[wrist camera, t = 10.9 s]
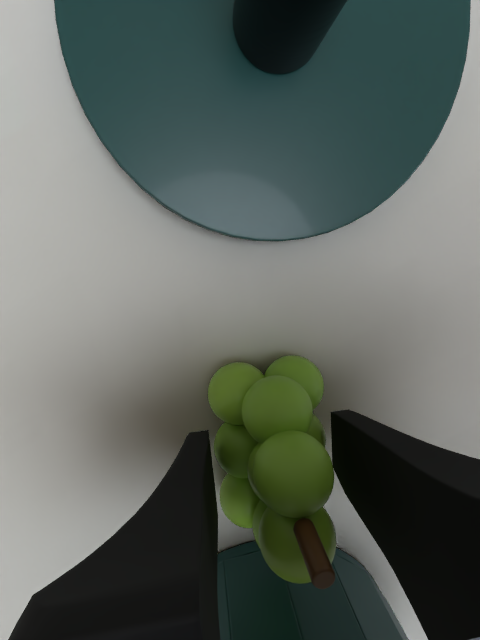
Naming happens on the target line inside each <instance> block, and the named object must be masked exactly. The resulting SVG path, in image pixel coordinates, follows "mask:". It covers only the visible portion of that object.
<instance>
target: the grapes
mask: <svg viewBox="0 0 480 640" xmlns="http://www.w3.org/2000/svg"><path fill="white" fill-rule="evenodd" d="M323 391H324V383H323V378H322V376H321V373H320V371H319V370H318V368H317V367H316V366H315V365H314V364H313V363H312V362H311V361H309V360H308V359H306V358H303V357H300V356H294V355H291V356H284V357H281V358H279V359H277V360H275V361H274V362H273V363H272V364H271V365H270V366H269V367H268V368H267V370H266V372H265V374H264V375H263V374H262V372H261V371H260V370H259V369H257V368H256V367H254V366H252V365H250V364H248V363H243V362H235V363H230V364H227V365H225V366H223V367H222V368H220V369H219V370H218V371H217V372H216V373H215V374H214V376H213V377H212V379H211V381H210V384H209V387H208V400H209V404H210V407H211V409H212V410H213V412H214V413H215V415H216V416H217V417H218V418H220V419H221V420H222V421H224V423H223V424H222V425H221V427H220V428H219V430H218V432H217V434H216V436H215V440H214V452H215V457H216V459H217V461H218V463H219V465H220V466H221V468H222V469H223V470H224V471H225V472H227V473H228V474H227V475H226V476H225V478H224V479H223V482H222V484H221V488H220V503H221V507H222V510H223V512H224V514H225V515H226V516H227V518H228V519H229V520H230V521H231V522H232V523H234V524H236V525H238V526H240V527H243V528H253V534H254V537H255V540H256V542H257V544H258V546H259V548H260V549H261V552H262V555H263V557H264V559H265V561H266V563H267V564H268V566H269V567H270V568H271V570H272V571H273V572H274V573H275V574H277V575H278V576H279V577H281V578H282V579H284V580H286V581H289V582H292V583H297V584H304V583H309V582H312V584H313V585H314V586H315V587H316V588H318V589H326V588H328V587H330V586H331V585H332V584H333V583H334V581H335V572H334V570H333V567H332V565H331V563H332V561H333V559H334V555H335V551H336V533H335V529H334V525H333V523H332V520H331V518H330V516H329V515H328V513H327V512H326V510H325V509H324V508H323V506H324V504H325V503H326V502H327V500H328V498H329V496H330V494H331V492H332V488H333V483H334V470H333V465H332V462H331V459H330V456H329V454H328V453H327V451H326V449H325V445H326V435H325V431H324V428H323V426H322V424H321V422H320V421H319V419H318V418H317V417H316V416H315V415H314V414H313V410H314V409H315V408H316V407H317V406H318V404H319V403H320V401H321V399H322V396H323Z"/></svg>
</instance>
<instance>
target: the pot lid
mask: <svg viewBox="0 0 480 640" xmlns="http://www.w3.org/2000/svg"><path fill="white" fill-rule="evenodd" d="M54 3H55V16H56V24H57V29H58V34H59V39H60V44H61V50H62V54H63V57H64V61H65V64H66V67H67V70H68V73H69V76H70V80H71V83H72V86H73V88H74V90H75V93H76V95H77V97H78V99H79V101H80V104H81V106H82V108H83V110H84V113H85V115H86V117H87V118H88V120H89V122H90V123H91V125H92V127H93V128H94V130H95V132H96V133H97V135H98V137H99V139H100V140H101V142H102V143H103V145H104V146H105V147H106V148H107V150H108V151H109V152H110V154H111V155H112V156H113V158H114V159H115V160H116V162H117V163H118V164H119V166H120V167H121V168H122V169H123V170H124V171H125V172H126V173H127V174H128V175H129V176H130V177H131V178H132V179H133V180H134V181H135V182H136V183H137V184H138V185H139V186H140V187H141V188H142V189H143V190H144V191H145V192H146V193H148V194H149V195H150V196H151V197H153V198H154V199H155V200H156V201H157V202H159V203H160V204H161V205H162V206H164V207H165V208H167V209H169V210H170V211H172V212H174V213H175V214H177V215H178V216H180V217H182V218H183V219H185V220H187V221H189V222H191V223H194V224H196V225H198V226H200V227H202V228H205V229H207V230H210V231H213V232H216V233H219V234H223V235H226V236H229V237H234V238H240V239H246V240H253V241H287V240H296V239H305V238H309V237H313V236H317V235H320V234H324V233H328V232H330V231H333V230H335V229H338V228H340V227H343V226H345V225H348V224H350V223H352V222H354V221H355V220H357V219H359V218H361V217H362V216H364V215H366V214H368V213H369V212H371V211H372V210H374V209H375V208H376V207H378V206H379V205H380V204H382V203H383V202H384V201H386V200H387V199H388V198H390V197H391V196H392V195H393V194H394V193H395V192H396V191H397V190H398V189H399V188H400V187H401V186H402V185H403V184H404V183H405V182H406V181H407V180H408V179H409V178H410V176H411V175H412V174H413V173H414V172H415V170H416V169H417V168H418V167H419V165H420V164H421V163H422V162H423V160H424V159H425V157H426V156H427V154H428V153H429V151H430V149H431V148H432V146H433V145H434V143H435V142H436V140H437V138H438V137H439V135H440V132H441V130H442V128H443V126H444V124H445V122H446V120H447V118H448V116H449V114H450V111H451V109H452V106H453V103H454V100H455V97H456V95H457V92H458V89H459V86H460V82H461V77H462V73H463V69H464V65H465V61H466V54H467V47H468V39H469V32H470V0H54Z"/></svg>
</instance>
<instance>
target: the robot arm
mask: <svg viewBox="0 0 480 640" xmlns="http://www.w3.org/2000/svg"><path fill="white" fill-rule="evenodd" d="M331 435H332V464H333V468H334V470H335V473H336V475H337V477H338V479H339V482H340V484H341V486H342V488H343V490H344V492H345V494H346V495H347V497H348V499H349V500H350V502H351V504H352V505H353V507H354V508H355V510H356V511H357V513H358V515H359V516H360V518H361V519H362V521H363V522H364V524H365V526H366V527H367V529H368V530H369V532H370V533H371V535H372V536H373V538H374V540H375V541H376V543H377V544H378V546H379V547H380V549H381V551H382V552H383V554H384V555H385V557H386V559H387V560H388V562H389V564H390V565H391V567H392V569H393V571H394V572H395V574H396V576H397V578H398V580H399V582H400V584H401V586H402V588H403V590H404V592H405V594H406V596H407V598H408V599H409V601H410V603H411V605H412V607H413V609H414V611H415V613H416V615H417V617H418V619H419V621H420V623H421V626H422V628H423V630H424V632H425V634H426V636H427V638H428V640H480V459H476V458H472V457H469V456H465V455H462V454H459V453H456V452H452V451H449V450H446V449H443V448H440V447H437V446H434V445H432V444H429V443H426V442H424V441H421V440H419V439H416V438H414V437H411V436H409V435H406V434H404V433H402V432H399V431H397V430H395V429H392V428H390V427H388V426H386V425H383V424H381V423H379V422H377V421H375V420H372V419H370V418H368V417H366V416H364V415H361V414H359V413H356V412H354V411H351V410H342V411H335V412H331ZM217 560H218V513H217V502H216V492H215V483H214V474H213V466H212V457H211V449H210V440H209V432H208V430H205V431H198V432H191V433H189V434H188V435H187V436H186V439H185V441H184V443H183V445H182V447H181V449H180V451H179V453H178V455H177V457H176V459H175V460H174V462H173V464H172V465H171V467H170V469H169V470H168V472H167V473H166V475H165V476H164V478H163V479H162V481H161V482H160V484H159V485H158V486H157V488H156V489H155V491H154V492H153V493H152V495H151V496H150V497H149V498H148V500H147V501H146V502H145V503H144V504H143V506H142V507H141V508H140V509H139V510H138V511H137V513H136V514H135V515H134V516H133V517H132V518H131V519H130V520H129V521H127V522H126V523H125V524H124V525H123V526H122V527H121V528H120V529H119V530H118V531H117V532H116V533H115V534H114V535H113V536H112V537H111V538H110V539H109V540H107V541H106V542H105V543H104V544H103V545H101V546H100V547H99V548H98V549H97V550H95V551H94V552H93V553H92V554H90V555H89V556H88V557H87V558H85V559H84V560H83V561H82V562H80V563H79V564H78V565H76V566H75V567H74V568H72V569H71V570H69V571H68V572H66V573H65V574H63V575H62V576H60V577H59V578H58V579H56V580H55V581H53V582H52V583H50V584H49V585H47V586H46V587H44V588H43V589H42V590H40V591H38V592H37V593H35V594H34V595H33V596H32V597H31V599H30V601H29V603H28V605H27V606H26V608H25V610H24V612H23V613H22V615H21V617H20V618H19V620H18V622H17V624H16V626H15V628H14V630H13V632H12V634H11V635H10V637H9V639H8V640H220V628H219V615H218V595H217Z"/></svg>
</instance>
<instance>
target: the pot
mask: <svg viewBox="0 0 480 640" xmlns="http://www.w3.org/2000/svg"><path fill="white" fill-rule="evenodd" d="M331 565H332V567H333V570H334V572H335V581H334V583H333V584H332V585H331V586H330V587H328V588H326V589H318V588H316V587H315V586H314V585H313V584H312V582H309V583H304V584H297V583H292V582H289V581H286V580H284V579H282V578H281V577H279V576H278V575H277V574H275V573H274V572H273V571H272V570H271V568H270V567H269V566H268V564H267V563H266V561H265V559H264V557H263V555H262V552H261V549H260V548H259V546H258V544H257V542H256V541H254V542H249V543H245V544H242V545H239V546H236V547H233V548H230V549H228V550H226V551H223V552H221V553H219V554H218V560H217V595H218V615H219V628H220V640H408V638H407V636H406V634H405V632H404V631H403V629H402V627H401V625H400V623H399V621H398V620H397V618H396V616H395V614H394V612H393V610H392V609H391V607H390V605H389V603H388V602H387V600H386V599H385V597H384V596H383V594H382V593H381V592H380V590H379V588H378V586H377V585H376V583H375V581H374V579H373V578H372V576H371V575H370V574H369V573H368V571H367V570H366V569H365V568H364V567H363V566H362V565H361V564H360V563H359V562H358V561H357V560H355V559H354V558H353V557H351V556H350V555H348V554H347V553H345V552H343V551H342V550H340V549H337V548H336V551H335V555H334V559H333V561H332V563H331Z"/></svg>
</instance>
